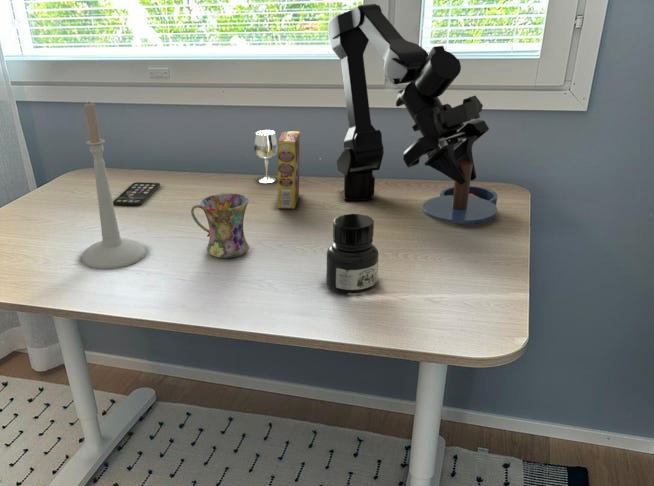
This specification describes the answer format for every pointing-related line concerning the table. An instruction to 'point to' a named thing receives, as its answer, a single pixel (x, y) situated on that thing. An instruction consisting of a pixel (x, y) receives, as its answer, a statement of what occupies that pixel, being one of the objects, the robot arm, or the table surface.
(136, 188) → the smartphone
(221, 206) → the mug
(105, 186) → the candlestick
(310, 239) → the table surface
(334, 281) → the ink bottle
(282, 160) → the candy box
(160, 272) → the table surface
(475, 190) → the tin
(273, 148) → the wineglass
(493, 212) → the tin lid
